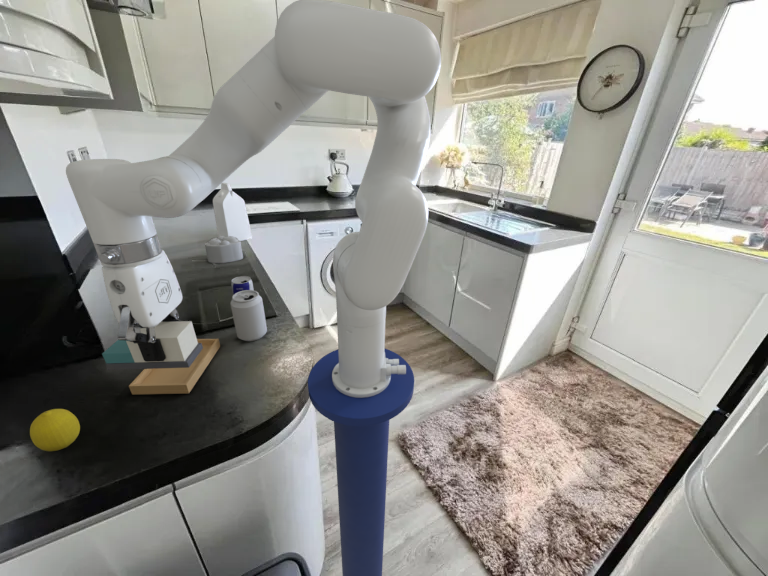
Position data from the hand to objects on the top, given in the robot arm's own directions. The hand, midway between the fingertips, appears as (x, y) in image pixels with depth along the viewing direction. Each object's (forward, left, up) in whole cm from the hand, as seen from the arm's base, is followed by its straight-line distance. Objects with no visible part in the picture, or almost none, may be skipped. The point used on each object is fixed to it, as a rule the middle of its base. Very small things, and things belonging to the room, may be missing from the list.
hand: (164, 348), depth 55 cm
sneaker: (+2, 0, -2) cm, 3 cm away
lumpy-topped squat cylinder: (+24, -83, -15) cm, 87 cm away
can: (-5, -26, -15) cm, 30 cm away
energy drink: (-1, -35, -15) cm, 38 cm away
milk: (+29, -111, -15) cm, 116 cm away
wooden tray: (+7, -13, -15) cm, 21 cm away
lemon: (+16, +7, -15) cm, 23 cm away
